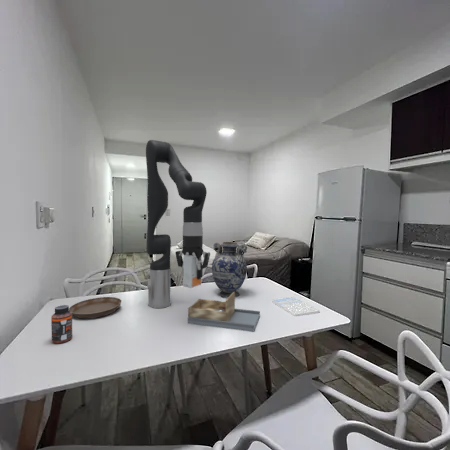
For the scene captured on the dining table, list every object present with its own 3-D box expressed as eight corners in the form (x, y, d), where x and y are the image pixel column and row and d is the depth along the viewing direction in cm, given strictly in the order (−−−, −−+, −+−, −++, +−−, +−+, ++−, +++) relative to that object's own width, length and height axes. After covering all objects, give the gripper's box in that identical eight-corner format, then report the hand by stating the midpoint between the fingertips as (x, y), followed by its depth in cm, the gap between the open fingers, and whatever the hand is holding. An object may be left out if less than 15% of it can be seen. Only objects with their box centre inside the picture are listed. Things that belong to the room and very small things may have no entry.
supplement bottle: (69, 342, 85) (69, 309, 85) (48, 345, 84) (48, 310, 83) (74, 334, 91) (74, 303, 91) (55, 337, 89) (54, 304, 89)
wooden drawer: (188, 318, 103) (188, 297, 102) (199, 308, 114) (199, 288, 114) (227, 323, 98) (227, 300, 98) (234, 311, 110) (234, 291, 109)
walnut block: (218, 313, 106) (218, 306, 106) (221, 310, 110) (221, 303, 110) (228, 314, 105) (228, 307, 105) (230, 311, 109) (230, 304, 109)
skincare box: (191, 288, 96) (191, 256, 95) (182, 286, 98) (182, 255, 97) (201, 284, 101) (201, 254, 100) (193, 283, 103) (193, 253, 103)
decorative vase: (202, 295, 137) (203, 242, 136) (222, 287, 152) (223, 240, 151) (236, 303, 125) (237, 245, 124) (254, 294, 140) (256, 242, 139)
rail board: (187, 323, 101) (187, 317, 101) (201, 309, 116) (201, 305, 115) (253, 331, 94) (253, 325, 94) (259, 316, 108) (259, 311, 108)
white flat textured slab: (294, 317, 108) (294, 313, 108) (271, 302, 127) (271, 298, 127) (320, 313, 113) (321, 309, 113) (294, 299, 132) (294, 296, 131)
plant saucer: (63, 324, 101) (63, 315, 101) (74, 306, 120) (74, 299, 120) (120, 317, 107) (120, 309, 107) (122, 301, 127) (122, 294, 127)
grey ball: (215, 318, 101) (215, 311, 101) (217, 315, 104) (217, 308, 104) (223, 319, 100) (223, 311, 100) (225, 316, 103) (225, 309, 103)
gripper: (171, 234, 97) (171, 279, 98) (206, 235, 93) (206, 282, 93) (180, 233, 104) (180, 274, 105) (213, 234, 100) (213, 277, 101)
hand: (192, 278), depth 99 cm, fingers closed on skincare box, 5 cm apart
